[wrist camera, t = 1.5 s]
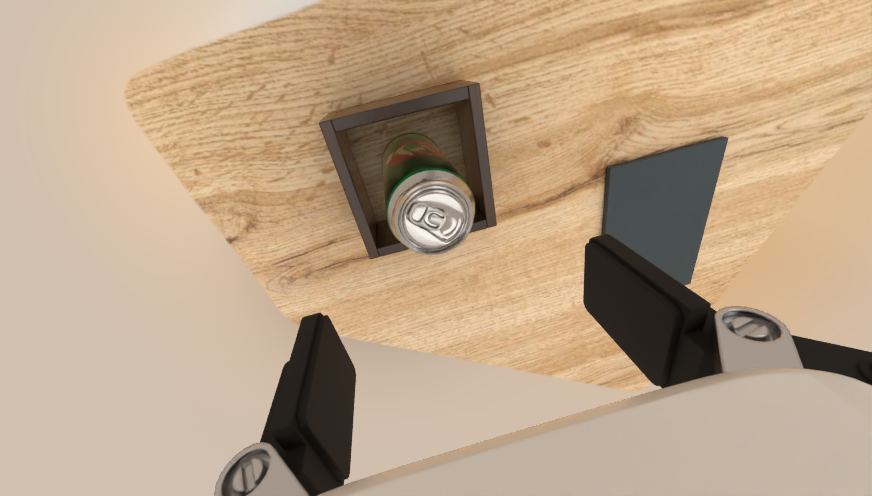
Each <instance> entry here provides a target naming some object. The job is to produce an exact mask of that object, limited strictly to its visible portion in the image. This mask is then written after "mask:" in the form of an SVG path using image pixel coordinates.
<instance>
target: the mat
mask: <svg viewBox="0 0 872 496" xmlns="http://www.w3.org/2000/svg"><path fill="white" fill-rule="evenodd" d="M727 141H728V138H727V137H720V138H716V139H712V140H708V141H704V142H701V143H697V144H693V145H689V146H685V147H682V148H678V149H674V150H670V151H666V152H663V153H659V154H655V155H651V156H648V157H644V158H640V159H636V160H632V161H629V162H625V163H621V164H617V165H613V166H610V167H607V172H606V186H605V200H604V213H603V227H602V235H604V234H609V235H611V236H613V237H614V238H616V239H617V240H619V241H620V242H621V243H623V244H624V245H626V246H627V247H629V248H630V249H632V250H633V251H635V252H636V253H637V254H639V255H640V256H642V257H643V258H645V259H646V260H648V261H649V262H651V263H652V264H653V265H655V266H656V267H658V268H659V269H661V270H662V271H664V272H665V273H667V274H668V275H669V276H671V277H672V278H674V279H675V280H677V281H678V282H680V283H681V284H683V285H687V284H690V283H691V279H692V275H693V271H694V267H695V263H696V260H697V256H698V252H699V248H700V244H701V240H702V237H703V233H704V229H705V225H706V221H707V217H708V214H709V210H710V206H711V202H712V198H713V195H714V191H715V187H716V183H717V179H718V175H719V172H720V168H721V164H722V160H723V156H724V152H725V149H726V145H727Z"/></svg>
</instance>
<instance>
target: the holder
mask: <svg viewBox="0 0 872 496" xmlns="http://www.w3.org/2000/svg"><path fill="white" fill-rule="evenodd" d="M454 102H455V105H456V111H457V117H458V123H459V129H460V136H461V142H462V148H463V154H464V160H465V166H466V173H467V179H468V185H469V187H470V189H471V191H472V193H473V196H474V200H475V215H474V219H473V225H472V228H471V230H470V232H469V233H471V232H475V231H478V230H482V229H486V228H487V227H488V228H489V227H493V226H496V225H497V223H496V215H495V207H494V199H493V191H492V182H491V174H490V166H489V158H488V150H487V142H486V133H485V125H484V117H483V109H482V101H481V92H480V84H479V83H476V82H469V81H462V80H460V81H456V82H453V83H448V84H443V85H439V86H435V87H431V88H427V89H423V90H419V91H415V92H411V93H407V94H403V95H399V96H395V97H391V98H387V99H383V100H379V101H375V102H371V103H367V104H363V105H359V106H355V107H351V108H347V109H343V110H339V111H335V112H331V113H329V114H328V115H326V116H325V117H324V118H323V119H322V120H321V121H320V122H319V125H320V128H321V130H322V133H323V135H324V138H325V141H326V143H327V146H328V149H329V151H330V154H331V157H332V159H333V162H334V165H335V167H336V170H337V172H338V175H339V178H340V180H341V183H342V186H343V188H344V191H345V194H346V196H347V199H348V202H349V204H350V207H351V210H352V212H353V215H354V217H355V220H356V223H357V225H358V228H359V231H360V233H361V236H362V239H363V241H364V244H365V247H366V249H367V252H368V255H369V257H370V259H374V258H377V257H381V256H385V255H389V254H392V253H396V252H400V251H404V250H407V249H409V248H408V247H407V246H405V245H404V244H402V243H401V242H400V241H399V240H398V239H397V238H396V237H395V236H394V235H393V233H392V231H391V229H390V228H389V225H388V222H387V220H386V221H382V222H378V223H377V222H376V219H375V216H374V214H373V211H372V208H371V205H370V202H369V199H368V196H367V193H366V190H365V187H364V184H363V181H362V178H361V175H360V172H359V170H358V167H357V164H356V161H355V158H354V155H353V152H352V149H351V146H350V143H349V140H348V137H347V134H346V131H345V130H346V129H350V128H354V127H358V126H362V125H366V124H370V123H374V122H378V121H382V120H386V119H390V118H394V117H398V116H402V115H406V114H410V113H414V112H418V111H422V110H426V109H430V108H434V107H438V106H442V105H446V104H450V103H454Z"/></svg>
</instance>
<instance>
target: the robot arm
mask: <svg viewBox="0 0 872 496" xmlns="http://www.w3.org/2000/svg"><path fill="white" fill-rule="evenodd" d="M583 301H584V305H585V308H586V309H587V311H588V312H589V313H590V314H591V315H592V316H593V317H594V319H595V320H596V321H597V322H598V323H599V324H600V325H601V326H602V328H603V329H604V330H605V331H606V332H607V333H608V334H609V335H610V336H611V338H612V339H613V340H614V341H615V342H616V343H617V344H618V345H619V347H620V348H621V349H622V350H623V351H624V352H625V353H626V354H627V355H628V357H629V358H630V359H631V360H632V361H633V362H634V363H635V364H636V366H637V367H638V368H639V369H640V370H641V371H642V372H643V373H644V374H645V376H646V377H647V378H648V379H649V380H650V381H651V382H652V383H653V384H654V385H656V386H661V387H662V389H659V390H656V391H652V392H648V393H645V394H641V395H638V396H635V397H631V398H628V399H624V400H621V401H618V402H614V403H611V404H607V405H604V406H601V407H597V408H594V409H590V410H587V411H583V412H580V413H577V414H573V415H570V416H567V417H563V418H560V419H556V420H553V421H550V422H546V423H543V424H540V425H537V426H533V427H530V428H526V429H523V430H520V431H516V432H513V433H510V434H506V435H503V436H500V437H496V438H493V439H490V440H486V441H483V442H480V443H476V444H473V445H470V446H466V447H463V448H460V449H457V450H453V451H450V452H447V453H444V454H440V455H437V456H434V457H430V458H427V459H424V460H420V461H417V462H414V463H411V464H407V465H404V466H401V467H398V468H395V469H392V470H388V471H385V472H382V473H379V474H376V475H373V476H370V477H367V478H364V479H361V480H358V481H355V482H352V483H348V484H346V485H344V479H347V478H348V477H349V474H350V461H351V445H352V429H353V413H354V397H355V382H356V372H355V368H354V365H353V363H352V361H351V359H350V357H349V355H348V353H347V351H346V350H345V348H344V346H343V344H342V342H341V340H340V338H339V336H338V334H337V332H336V330H335V328H334V326H333V324H332V322H331V320H330V318H329V317H328V316H327V315H325V316H323V315H322V314H321V313H317V314H313V315H309V316H306V317H303V318H302V320H301V324H300V327H299V331H298V334H297V337H296V341H295V344H294V347H293V351H292V354H291V357H290V361H288V362H287V363H286V364H285V365H284V367H283V370H282V373H281V377H280V380H279V383H278V387H277V389H276V393H275V396H274V399H273V402H272V406H271V409H270V412H269V415H268V418H267V422H266V425H265V428H264V431H263V434H262V438H261V441H260V443H256V444H253V445H251V446H249V447H246V448H245V449H243V450H242V451H241V452H239V453H238V454H237V455H236V456H235V457H233V459H232V460H231V461H230V462H229V463H228V464H227V465H226V467H225V468H224V470H223V471H222V472H221V474H220V476H219V479H218V481H217V483H216V487H215V492H214V496H872V352H868V351H863V350H858V349H854V348H849V347H845V346H840V345H835V344H831V343H826V342H821V341H816V340H812V339H807V338H802V337H798V336H793V335H791V334H790V331H789V330H788V328H787V327H786V325H785V324H783V323H782V322H781V321H780V320H778V319H777V318H776V317H774V316H772V315H770V314H768V313H765V312H763V311H760V310H757V309H753V308H749V307H741V306H731V307H725V308H722V309H720V310H719V311H718V312H716V311H715V310H714V309H712V308H711V307H710V305H711V304H710V303H709V302H707V301H706V300H704V299H703V298H701V297H700V296H699V295H697V294H696V293H694V292H693V291H691V290H690V289H688V288H687V287H685V286H684V285H683V284H681V283H680V282H678V281H677V280H675V279H674V278H672V277H671V276H669V275H668V274H667V273H665V272H664V271H662V270H661V269H659V268H658V267H656V266H655V265H653V264H652V263H651V262H649V261H648V260H646V259H645V258H643V257H642V256H640V255H639V254H637V253H636V252H635V251H633V250H632V249H630V248H629V247H627V246H626V245H624V244H623V243H621V242H620V241H619V240H617V239H616V238H614V237H613V236H611V235H609V234H604V235H600V236H597V237H593V238H591V239H590V240H589V243H587V244H586V246H585V269H584V299H583Z"/></svg>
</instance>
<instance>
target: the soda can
mask: <svg viewBox="0 0 872 496" xmlns="http://www.w3.org/2000/svg"><path fill="white" fill-rule="evenodd" d="M382 167H383V179H384V191H385V204H386V215H387V222H388V225H389V228H390V229H391V231H392V233H393V235H394V236H395V237H396V238H397V239H398V240H399V241H400V242H401V243H402V244H404V245H405V246H407V247H408V248H409V249H411V250H413V251H415V252H417V253H420V254H425V255H438V254H443V253H446V252H448V251H451V250H452V249H454V248H456V247H457V246H458V245H460V244H461V243H462V242H463V241H464V240H465V238H466V237H467V236H468V234H469V232H470V230H471V228H472V225H473V219H474V215H475V200H474V196H473V193H472V191H471V189H470V187H469V185H468V184H467V183H466V182H465V180H464V179H463V178H462V177H461V175H460V174H459V173H458V172H457V170H456V169H455V168H454V167H453V165H452V164H451V163H450V162H449V160H448V159H447V158H446V157H445V155H444V154H443V153H442V152H441V150H440V149H439V148H438V147H437V145H436V144H435V143H434V142H433V141H432V140H431V139H429V138H428V137H426V136H423V135H420V134H414V133H411V134H405V135H402V136H400V137H398V138H396V139H395V140H393V141H392V142H391V143H390V144H389V146H388V147H387V149H386V150H385V153H384V156H383V161H382Z"/></svg>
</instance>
